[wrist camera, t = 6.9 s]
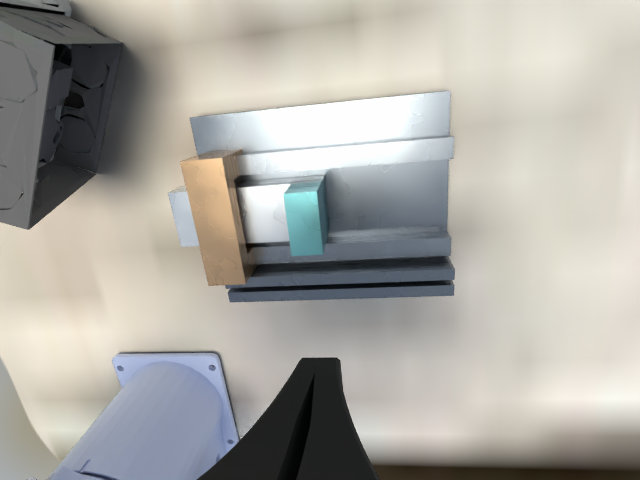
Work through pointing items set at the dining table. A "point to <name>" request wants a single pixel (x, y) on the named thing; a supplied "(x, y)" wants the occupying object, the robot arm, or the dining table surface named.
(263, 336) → the dining table surface
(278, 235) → the white and teal block
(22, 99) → the electrical switch
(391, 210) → the base
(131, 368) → the robot arm
